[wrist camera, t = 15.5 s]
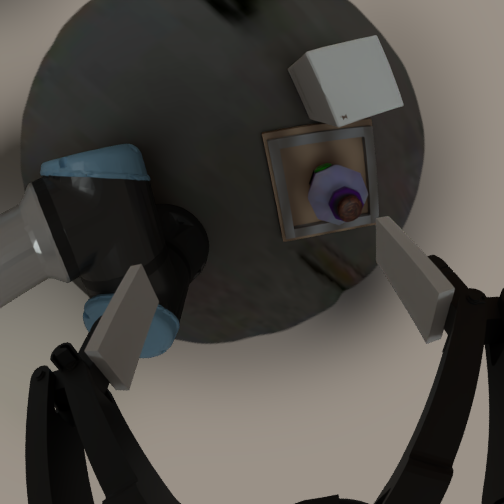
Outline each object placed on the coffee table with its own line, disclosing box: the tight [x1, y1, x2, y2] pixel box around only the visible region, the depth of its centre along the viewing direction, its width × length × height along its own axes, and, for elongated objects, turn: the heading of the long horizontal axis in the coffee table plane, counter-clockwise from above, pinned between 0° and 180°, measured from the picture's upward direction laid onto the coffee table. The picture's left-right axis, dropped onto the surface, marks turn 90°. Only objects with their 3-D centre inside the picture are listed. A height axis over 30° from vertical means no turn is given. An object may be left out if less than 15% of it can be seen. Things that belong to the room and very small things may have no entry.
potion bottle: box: [308, 163, 368, 225], centre depth 38 cm, size 9×9×12 cm
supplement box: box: [288, 35, 404, 127], centre depth 31 cm, size 9×9×15 cm
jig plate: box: [262, 118, 379, 242], centre depth 44 cm, size 17×18×3 cm
